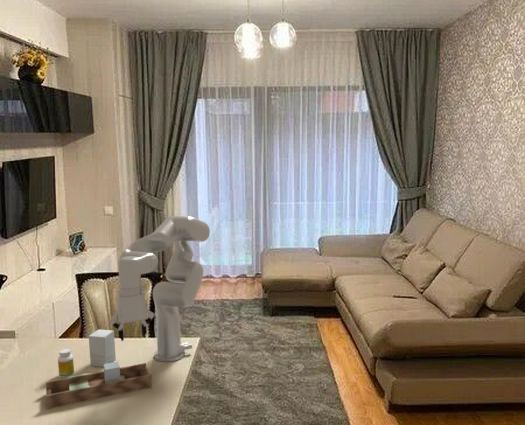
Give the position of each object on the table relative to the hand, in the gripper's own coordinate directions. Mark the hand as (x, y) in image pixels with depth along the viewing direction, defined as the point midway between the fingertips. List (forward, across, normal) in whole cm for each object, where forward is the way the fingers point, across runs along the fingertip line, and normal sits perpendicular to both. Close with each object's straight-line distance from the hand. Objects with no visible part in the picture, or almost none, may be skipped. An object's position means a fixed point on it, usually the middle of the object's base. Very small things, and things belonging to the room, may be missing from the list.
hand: (132, 337), depth 175 cm
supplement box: (+18, +9, -23) cm, 30 cm away
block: (+15, +8, 0) cm, 17 cm away
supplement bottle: (+18, +23, -18) cm, 34 cm away
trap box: (+18, +12, 0) cm, 22 cm away
